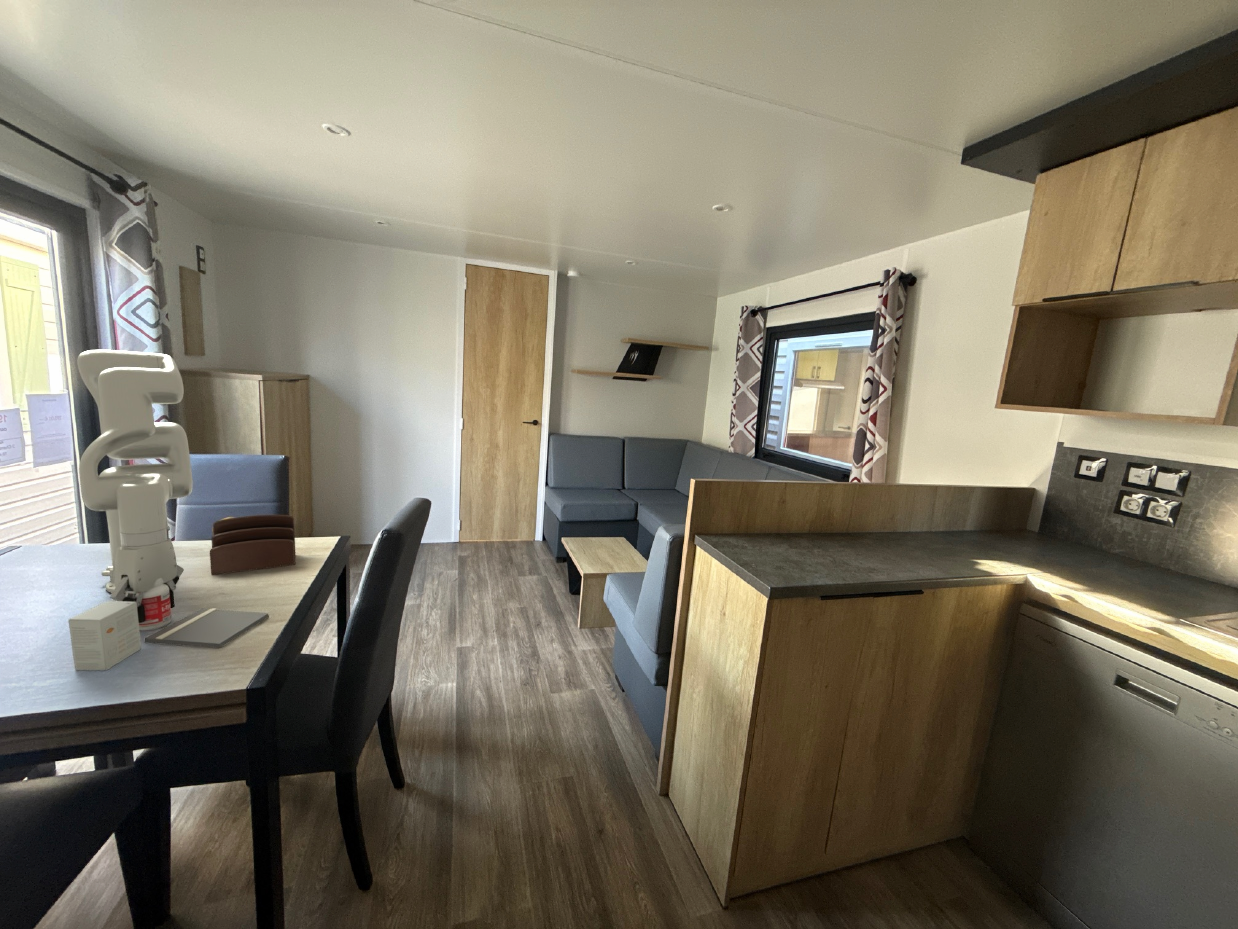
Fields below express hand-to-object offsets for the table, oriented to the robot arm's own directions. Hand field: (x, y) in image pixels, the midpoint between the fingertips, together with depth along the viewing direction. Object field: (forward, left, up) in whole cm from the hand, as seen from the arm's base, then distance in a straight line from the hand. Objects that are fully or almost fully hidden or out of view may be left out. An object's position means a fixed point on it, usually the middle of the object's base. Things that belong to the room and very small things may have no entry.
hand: (152, 613), depth 110 cm
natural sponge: (-22, +49, -3) cm, 54 cm away
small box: (+4, -13, -3) cm, 14 cm away
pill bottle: (0, 0, -3) cm, 3 cm away
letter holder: (-5, +37, -3) cm, 38 cm away
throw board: (+13, 0, -3) cm, 13 cm away
